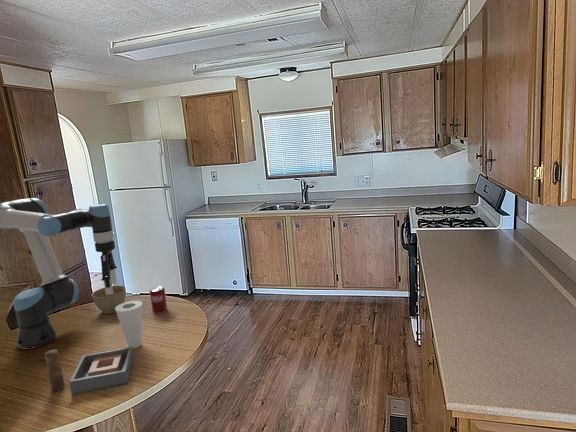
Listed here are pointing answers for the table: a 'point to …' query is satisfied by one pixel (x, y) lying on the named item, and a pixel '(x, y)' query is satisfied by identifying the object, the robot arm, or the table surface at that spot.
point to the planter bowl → (109, 299)
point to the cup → (131, 321)
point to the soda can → (158, 300)
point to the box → (102, 370)
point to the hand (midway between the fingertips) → (111, 288)
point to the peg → (54, 370)
